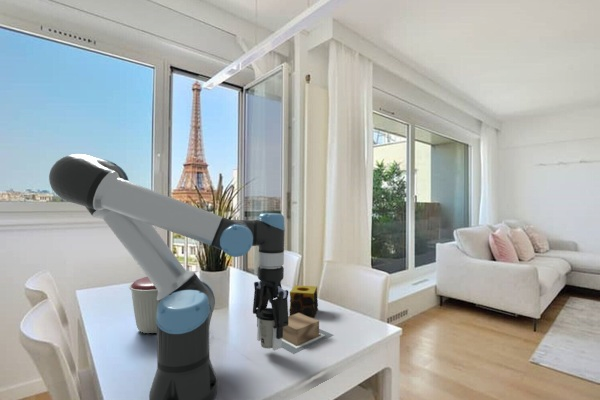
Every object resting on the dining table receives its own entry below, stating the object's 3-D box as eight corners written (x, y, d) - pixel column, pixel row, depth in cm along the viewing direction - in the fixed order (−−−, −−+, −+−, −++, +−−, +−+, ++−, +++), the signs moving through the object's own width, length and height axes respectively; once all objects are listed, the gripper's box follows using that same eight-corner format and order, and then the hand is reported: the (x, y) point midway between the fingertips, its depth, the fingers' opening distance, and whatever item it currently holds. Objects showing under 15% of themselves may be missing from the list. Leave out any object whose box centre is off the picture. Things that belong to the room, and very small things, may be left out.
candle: (314, 319, 118) (314, 293, 118) (289, 317, 120) (288, 292, 120) (318, 309, 128) (318, 286, 128) (294, 308, 130) (294, 284, 130)
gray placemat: (293, 355, 91) (293, 353, 91) (262, 337, 103) (262, 335, 103) (333, 336, 103) (333, 334, 103) (301, 322, 115) (301, 320, 115)
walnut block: (296, 345, 96) (296, 329, 96) (277, 335, 104) (276, 320, 104) (319, 335, 103) (319, 320, 103) (299, 326, 110) (298, 312, 110)
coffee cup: (258, 351, 86) (259, 316, 86) (255, 340, 93) (256, 307, 93) (282, 349, 88) (283, 314, 88) (278, 338, 95) (278, 306, 95)
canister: (194, 321, 118) (194, 265, 117) (161, 342, 100) (160, 278, 100) (155, 316, 122) (154, 263, 122) (116, 336, 105) (116, 274, 105)
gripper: (303, 270, 86) (301, 352, 86) (261, 259, 100) (260, 329, 101) (282, 274, 81) (280, 361, 81) (241, 261, 95) (240, 335, 95)
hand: (269, 343), depth 91 cm, fingers closed on coffee cup, 7 cm apart
